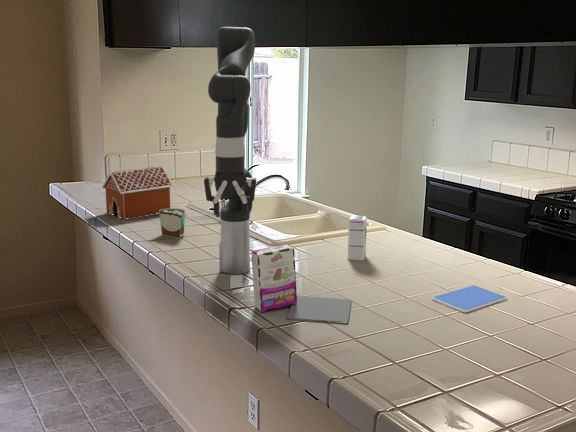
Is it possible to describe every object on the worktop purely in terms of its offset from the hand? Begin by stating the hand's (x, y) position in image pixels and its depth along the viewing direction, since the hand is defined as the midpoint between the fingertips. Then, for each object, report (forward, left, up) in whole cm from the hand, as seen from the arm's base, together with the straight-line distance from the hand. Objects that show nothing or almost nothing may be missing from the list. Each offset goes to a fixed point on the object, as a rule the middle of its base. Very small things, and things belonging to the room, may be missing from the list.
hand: (230, 216), depth 166 cm
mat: (+25, +2, -26) cm, 35 cm away
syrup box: (+32, +51, -26) cm, 65 cm away
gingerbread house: (-66, +98, -26) cm, 121 cm away
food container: (-38, +66, -26) cm, 80 cm away
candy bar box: (+12, +2, -26) cm, 28 cm away
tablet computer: (+66, +18, -26) cm, 73 cm away
